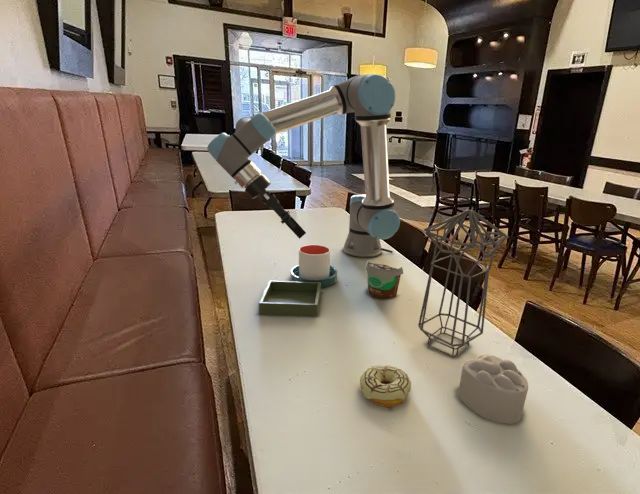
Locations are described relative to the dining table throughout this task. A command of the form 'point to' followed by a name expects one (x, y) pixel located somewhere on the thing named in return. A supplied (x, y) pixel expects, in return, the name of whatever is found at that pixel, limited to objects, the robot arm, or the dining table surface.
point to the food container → (382, 280)
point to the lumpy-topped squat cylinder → (493, 388)
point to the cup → (314, 262)
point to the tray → (290, 298)
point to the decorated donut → (385, 385)
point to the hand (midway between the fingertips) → (301, 233)
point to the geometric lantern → (459, 220)
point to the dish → (324, 282)
